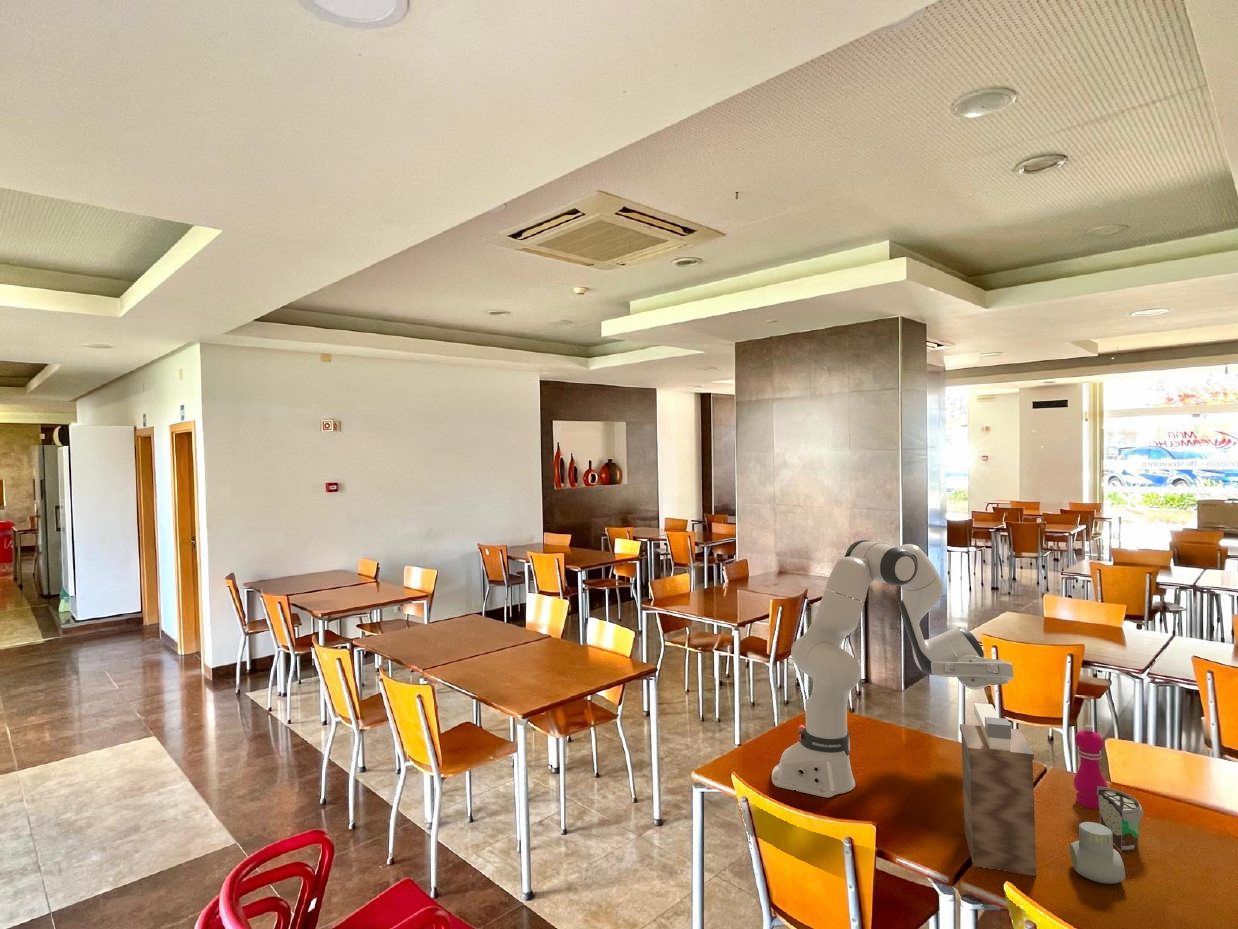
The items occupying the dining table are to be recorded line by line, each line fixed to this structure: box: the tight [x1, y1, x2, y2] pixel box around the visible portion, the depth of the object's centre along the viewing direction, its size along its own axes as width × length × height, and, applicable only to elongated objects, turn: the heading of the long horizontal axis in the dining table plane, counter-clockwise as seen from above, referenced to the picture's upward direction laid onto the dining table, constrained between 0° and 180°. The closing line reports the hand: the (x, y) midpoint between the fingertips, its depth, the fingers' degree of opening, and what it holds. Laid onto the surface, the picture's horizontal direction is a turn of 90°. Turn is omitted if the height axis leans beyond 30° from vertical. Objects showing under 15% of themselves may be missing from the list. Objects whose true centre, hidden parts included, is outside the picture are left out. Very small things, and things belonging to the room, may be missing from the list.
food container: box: [1097, 787, 1144, 854], centre depth 156 cm, size 12×6×10 cm, turn 168°
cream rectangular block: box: [973, 702, 1012, 751], centre depth 158 cm, size 4×22×6 cm, turn 160°
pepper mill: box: [1073, 724, 1109, 810], centre depth 174 cm, size 7×7×20 cm
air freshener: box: [1069, 821, 1126, 885], centre depth 144 cm, size 11×8×10 cm
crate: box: [959, 723, 1038, 877], centre depth 153 cm, size 13×14×26 cm
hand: (970, 667), depth 183 cm, fingers open, 8 cm apart
